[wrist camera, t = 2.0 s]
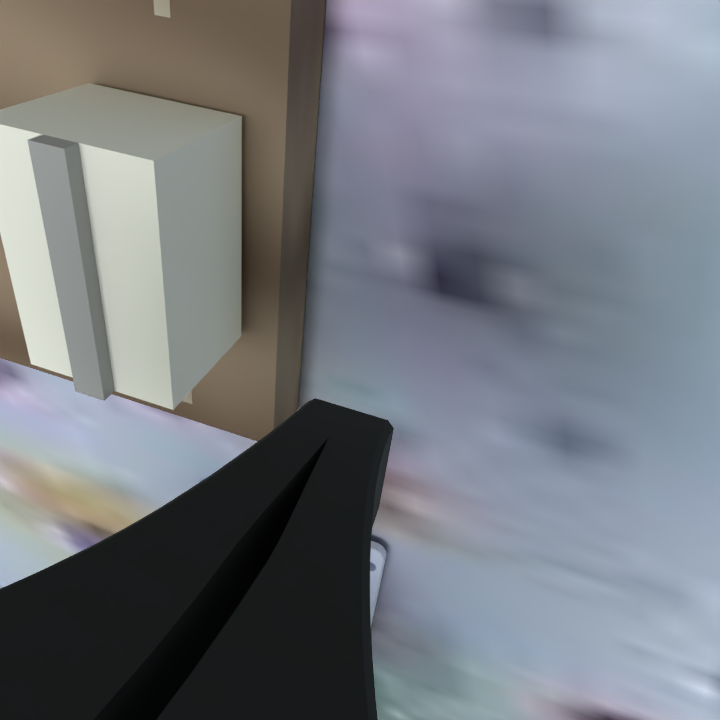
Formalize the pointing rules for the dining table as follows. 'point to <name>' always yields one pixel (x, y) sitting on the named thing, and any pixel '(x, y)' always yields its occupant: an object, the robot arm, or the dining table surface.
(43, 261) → the fader knob
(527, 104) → the dining table surface
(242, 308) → the console board
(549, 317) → the dining table surface
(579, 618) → the dining table surface
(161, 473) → the dining table surface
